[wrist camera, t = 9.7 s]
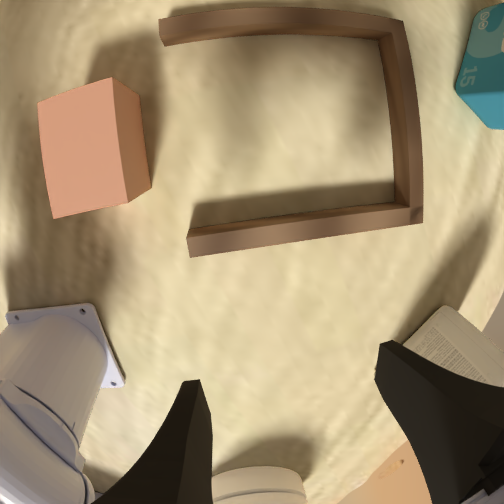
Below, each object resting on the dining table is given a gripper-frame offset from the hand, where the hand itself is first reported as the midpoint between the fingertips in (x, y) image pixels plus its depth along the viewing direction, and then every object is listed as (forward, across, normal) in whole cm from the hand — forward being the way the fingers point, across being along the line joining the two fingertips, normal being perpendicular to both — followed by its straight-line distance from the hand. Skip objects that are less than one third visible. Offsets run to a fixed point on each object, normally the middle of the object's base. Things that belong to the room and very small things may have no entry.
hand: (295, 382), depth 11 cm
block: (+10, +8, -10) cm, 17 cm away
